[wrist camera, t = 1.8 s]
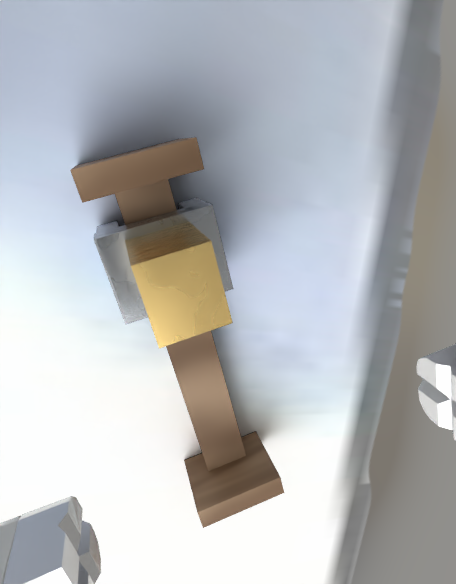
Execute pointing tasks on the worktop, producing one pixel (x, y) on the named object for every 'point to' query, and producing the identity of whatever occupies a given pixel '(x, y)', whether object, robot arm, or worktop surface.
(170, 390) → the worktop surface
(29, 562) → the robot arm
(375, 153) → the worktop surface
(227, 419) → the rail
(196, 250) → the slider
